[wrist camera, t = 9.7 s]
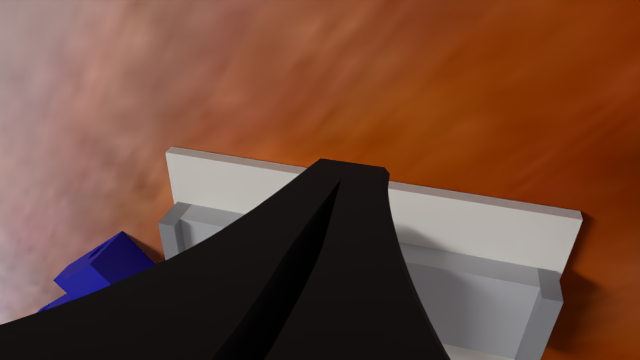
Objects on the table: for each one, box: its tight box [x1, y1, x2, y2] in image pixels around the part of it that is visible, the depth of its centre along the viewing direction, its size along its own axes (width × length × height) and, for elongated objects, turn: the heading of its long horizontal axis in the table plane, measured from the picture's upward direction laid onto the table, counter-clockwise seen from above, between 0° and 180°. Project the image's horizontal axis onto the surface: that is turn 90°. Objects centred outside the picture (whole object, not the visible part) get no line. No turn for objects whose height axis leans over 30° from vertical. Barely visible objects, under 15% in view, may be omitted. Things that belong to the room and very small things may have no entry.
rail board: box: [158, 147, 583, 360], centre depth 23 cm, size 18×10×2 cm, turn 88°
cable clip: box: [37, 231, 156, 313], centre depth 29 cm, size 12×4×6 cm, turn 127°
